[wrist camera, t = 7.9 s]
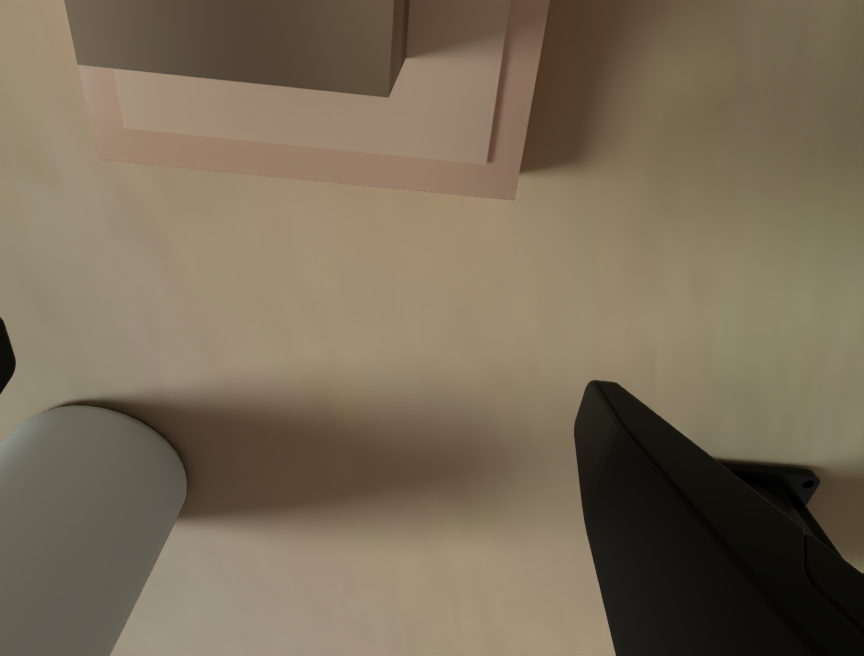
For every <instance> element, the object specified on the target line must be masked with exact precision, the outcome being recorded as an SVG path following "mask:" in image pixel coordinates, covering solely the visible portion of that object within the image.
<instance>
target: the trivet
mask: <svg viewBox="0 0 864 656" xmlns="http://www.w3.org/2000/svg"><path fill="white" fill-rule="evenodd" d="M549 4H550V0H410V2H409V17H408V32H407V47H406V59H405V62H404V64H403V66H402V68H401V71H400V73H399V75H398V77H397V80H396V82H395V84H394V87H393V89H392V91H391V93H390V96H389V98H387V97H377V96H368V95H358V94H349V93H340V92H330V91H321V90H311V89H302V88H292V87H283V86H273V85H264V84H254V83H245V82H236V81H226V80H217V79H207V78H198V77H188V76H179V75H169V74H160V73H151V72H141V71H132V70H122V69H113V68H103V67H94V66H84V65H78V67H79V72H80V77H81V81H82V86H83V91H84V95H85V100H86V105H87V110H88V114H89V119H90V124H91V129H92V133H93V138H94V143H95V148H96V152H97V157H98V160H108V161H118V162H128V163H138V164H148V165H159V166H169V167H179V168H189V169H199V170H209V171H220V172H230V173H240V174H250V175H260V176H271V177H281V178H291V179H301V180H311V181H322V182H332V183H342V184H352V185H362V186H373V187H383V188H393V189H403V190H413V191H424V192H434V193H444V194H454V195H464V196H475V197H485V198H495V199H505V200H515V194H516V188H517V183H518V177H519V172H520V166H521V161H522V155H523V149H524V144H525V138H526V133H527V127H528V122H529V116H530V110H531V105H532V99H533V94H534V88H535V83H536V77H537V71H538V66H539V60H540V55H541V49H542V44H543V38H544V32H545V27H546V21H547V16H548V10H549Z"/></svg>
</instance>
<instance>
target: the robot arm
mask: <svg viewBox="0 0 864 656" xmlns="http://www.w3.org/2000/svg"><path fill="white" fill-rule="evenodd" d="M15 366H16V359H15V355H14V352H13V349H12V346H11V343H10V339H9V336H8V333H7V330H6V327H5V324H4V321H3V320H2V319H1V317H0V394H1V392H2V391H3V389H4V388H5V386H6V385H7V383H8V382H9V380H10V379H11V377H12V375H13V373H14V371H15ZM574 438H575V447H576V456H577V465H578V473H579V482H580V491H581V500H582V508H583V515H584V522H585V526H586V531H587V536H588V540H589V544H590V549H591V553H592V557H593V561H594V565H595V570H596V574H597V578H598V582H599V586H600V590H601V595H602V599H603V603H604V607H605V611H606V616H607V620H608V624H609V628H610V632H611V637H612V641H613V645H614V649H615V653H616V656H864V573H863V574H862V573H861V572H859V571H858V570H857V569H856V568H854V567H853V566H852V565H850V564H849V563H848V562H846V561H845V560H844V559H843V558H842V556H841V555H840V554H839V552H838V551H837V549H836V548H835V547H834V545H833V544H832V542H831V541H830V540H829V538H828V537H827V535H826V534H825V533H824V531H823V530H822V528H821V527H820V526H819V524H818V523H817V521H816V520H815V519H814V517H813V516H812V514H811V513H810V512H809V510H808V509H807V507H806V504H807V503H808V501H809V500H810V498H811V497H812V495H813V494H814V492H815V490H816V489H817V487H818V486H819V483H820V480H819V478H818V477H817V476H816V475H815V473H814V472H813V471H811V470H804V469H791V468H778V467H765V466H752V465H739V464H727V463H719V462H718V461H716V460H715V459H714V458H713V457H711V456H710V455H709V454H707V453H706V452H705V451H704V450H702V449H701V448H700V447H698V446H697V445H696V444H695V443H693V442H692V441H691V440H689V439H688V438H687V437H686V436H684V435H683V434H682V433H680V432H679V431H678V430H677V429H675V428H674V427H673V426H671V425H670V424H669V423H668V422H666V421H665V420H664V419H662V418H661V417H660V416H659V415H657V414H656V413H655V412H654V411H652V410H651V409H650V408H648V407H647V406H646V405H645V404H643V403H642V402H641V401H639V400H638V399H637V398H636V397H634V396H633V395H632V394H630V393H629V392H628V391H627V390H625V389H624V388H623V387H621V386H620V385H619V384H617V383H615V382H608V381H599V380H592V381H590V382H589V383H588V385H587V386H586V389H585V392H584V395H583V398H582V401H581V404H580V407H579V411H578V414H577V417H576V420H575V425H574Z"/></svg>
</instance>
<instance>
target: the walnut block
mask: <svg viewBox="0 0 864 656" xmlns="http://www.w3.org/2000/svg"><path fill="white" fill-rule="evenodd" d="M64 1H65V6H66V11H67V16H68V20H69V25H70V30H71V35H72V39H73V44H74V49H75V54H76V58H77V63H78V65H84V66H94V67H103V68H113V69H122V70H132V71H141V72H151V73H160V74H169V75H179V76H188V77H198V78H207V79H217V80H226V81H236V82H245V83H254V84H264V85H273V86H283V87H292V88H302V89H311V90H321V91H330V92H340V93H349V94H358V95H368V96H377V97H387V98H389V96H390V93H391V91H392V89H393V87H394V84H395V82H396V80H397V77H398V75H399V73H400V71H401V68H402V66H403V64H404V62H405V59H406V47H407V32H408V17H409V2H410V0H64Z"/></svg>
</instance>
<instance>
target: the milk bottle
mask: <svg viewBox="0 0 864 656" xmlns="http://www.w3.org/2000/svg"><path fill="white" fill-rule="evenodd" d="M186 494H187V480H186V473H185V470H184V466H183V463H182V461H181V460H180V458H179V456H178V454H177V452H176V451H175V450H174V449H173V448H172V447H171V445H170V444H169V443H168V442H167V440H165V439H164V438H163V437H162V436H160V435H159V434H158V433H157V432H156V431H155V430H153V429H151V428H150V427H148V426H147V425H145V424H143V423H142V422H140V421H138V420H136V419H134V418H131V417H129V416H127V415H125V414H123V413H119V412H116V411H112V410H109V409H106V408H99V407H93V406H75V405H71V406H65V407H57V408H54V409H51V410H49V411H46V412H42V413H40V414H37V415H35V416H33V417H31V418H29V419H28V420H26V421H25V422H24V423H22V424H21V425H20V426H19V427H18V428H17V429H16V430H15V431H14V432H13V433H12V434H11V435H10V436H9V437H8V438H7V439H6V440H5V441H4V442H3V443H2V444H1V445H0V656H110V654H111V652H112V650H113V648H114V646H115V644H116V642H117V640H118V638H119V636H120V634H121V632H122V630H123V628H124V626H125V624H126V622H127V620H128V618H129V616H130V614H131V612H132V610H133V608H134V606H135V604H136V602H137V600H138V597H139V595H140V593H141V591H142V589H143V587H144V585H145V583H146V581H147V579H148V577H149V575H150V573H151V571H152V569H153V567H154V565H155V563H156V561H157V559H158V557H159V555H160V553H161V551H162V549H163V546H164V544H165V542H166V540H167V538H168V536H169V534H170V532H171V530H172V528H173V526H174V524H175V522H176V520H177V517H178V515H179V513H180V511H181V508H182V506H183V504H184V501H185V499H186Z"/></svg>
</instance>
